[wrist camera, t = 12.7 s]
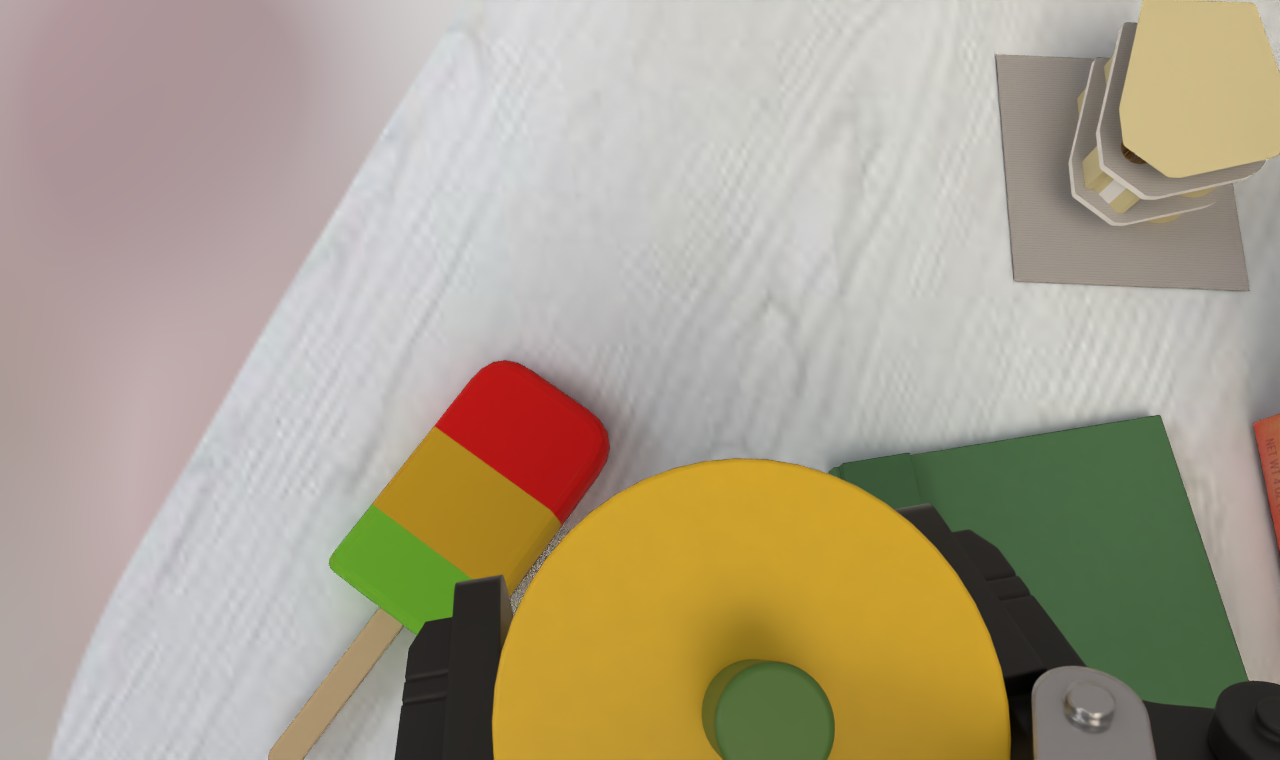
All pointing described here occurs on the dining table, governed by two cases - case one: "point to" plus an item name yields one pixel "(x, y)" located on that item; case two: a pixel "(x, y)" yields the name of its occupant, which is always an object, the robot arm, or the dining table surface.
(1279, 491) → the cracker box
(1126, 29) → the stacked layers on plate
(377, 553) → the popsicle
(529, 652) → the yellow cylinder with peg
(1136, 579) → the green notebook
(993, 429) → the dining table surface
